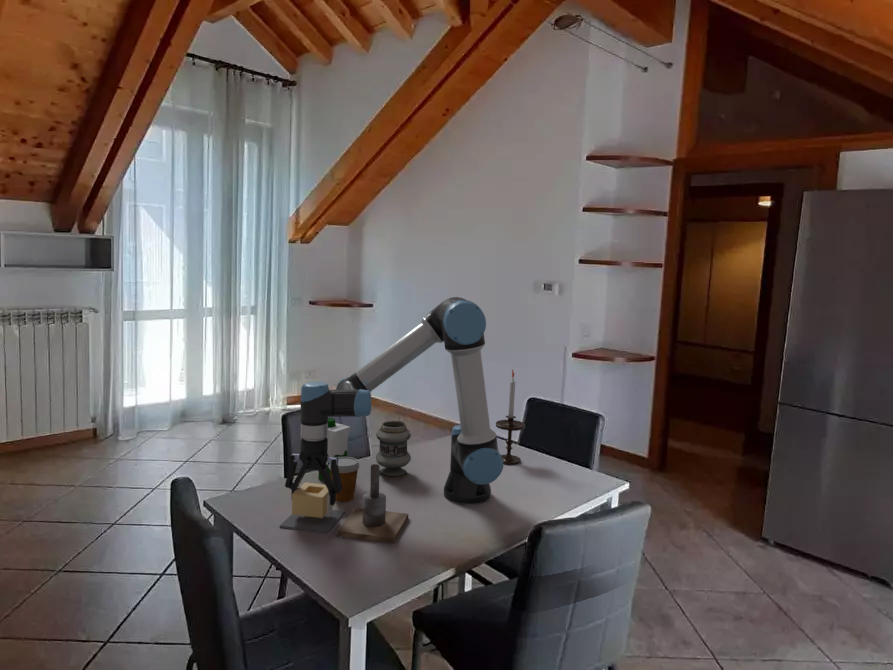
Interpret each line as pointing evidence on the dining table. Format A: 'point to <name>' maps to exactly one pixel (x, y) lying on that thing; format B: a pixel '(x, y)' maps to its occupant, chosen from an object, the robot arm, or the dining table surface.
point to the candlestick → (510, 427)
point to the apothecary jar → (393, 449)
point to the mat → (312, 522)
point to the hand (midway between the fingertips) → (313, 513)
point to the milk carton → (336, 441)
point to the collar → (310, 500)
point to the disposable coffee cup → (347, 478)
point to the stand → (373, 517)
